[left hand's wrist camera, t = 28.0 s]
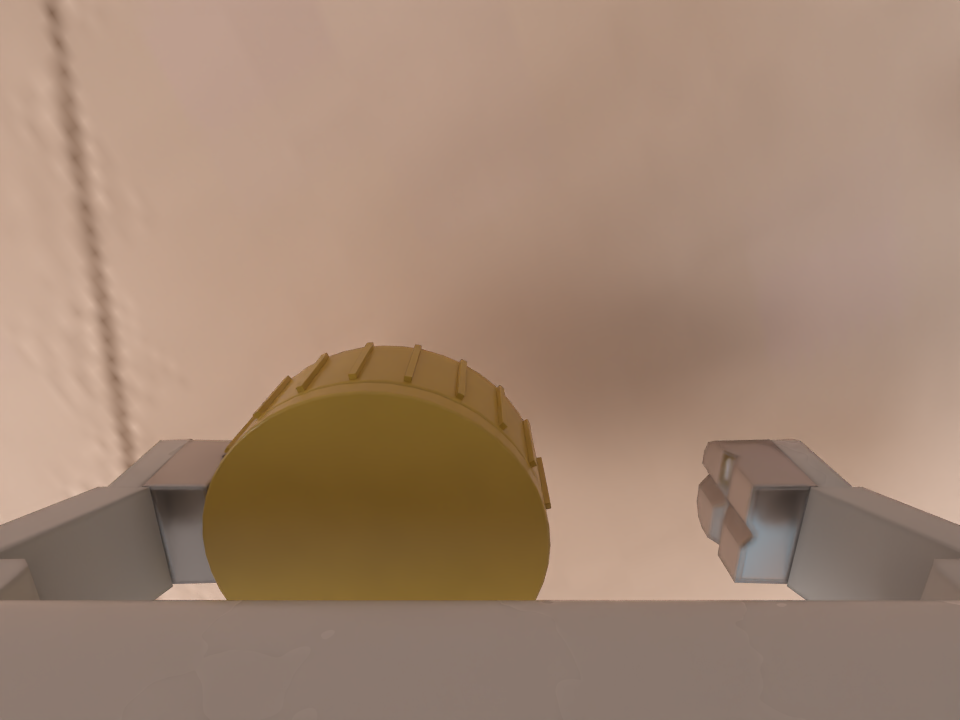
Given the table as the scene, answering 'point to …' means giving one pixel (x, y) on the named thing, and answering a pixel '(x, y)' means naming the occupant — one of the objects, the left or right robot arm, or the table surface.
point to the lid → (380, 487)
